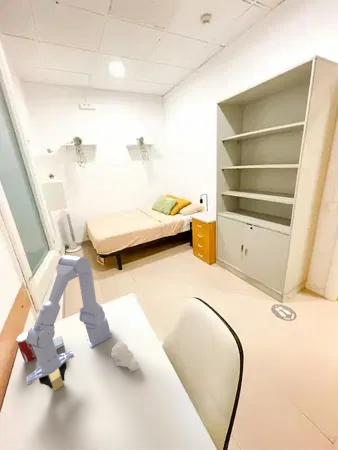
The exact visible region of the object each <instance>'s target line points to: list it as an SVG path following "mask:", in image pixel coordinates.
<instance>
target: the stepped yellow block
mask: <svg viewBox="0 0 338 450" xmlns="http://www.w3.org/2000/svg"><path fill="white" fill-rule="evenodd" d="M48 376H49V378H50V380H51V384H52V386H53V388H52V390H53V391H54V392H55V391H57V390H58V389H60V388H61V387H62V386H64V385H65V384H64V381H62V378H61V374H60V371H59V368H58V369H57V370H56V371H55V372H53V373H51V374H49V375H48Z"/></svg>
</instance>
